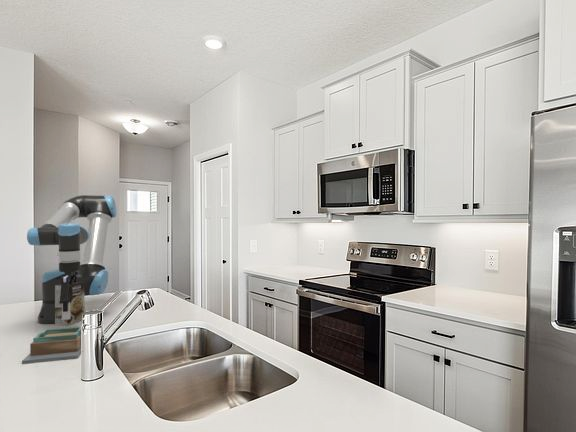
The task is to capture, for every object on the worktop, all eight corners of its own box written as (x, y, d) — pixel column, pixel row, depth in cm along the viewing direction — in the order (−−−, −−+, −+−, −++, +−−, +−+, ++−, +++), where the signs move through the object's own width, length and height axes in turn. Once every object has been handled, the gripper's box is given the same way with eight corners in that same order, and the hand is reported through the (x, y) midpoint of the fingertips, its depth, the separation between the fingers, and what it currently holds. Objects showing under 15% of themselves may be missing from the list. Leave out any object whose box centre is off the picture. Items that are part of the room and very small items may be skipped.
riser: (43, 344, 134) (43, 329, 134) (86, 340, 138) (85, 325, 138) (30, 356, 122) (30, 339, 122) (77, 351, 126) (77, 335, 126)
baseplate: (44, 343, 138) (44, 340, 138) (91, 339, 142) (91, 336, 142) (21, 364, 118) (21, 360, 118) (77, 358, 123) (77, 355, 123)
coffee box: (68, 326, 144) (67, 285, 144) (54, 325, 145) (53, 285, 145) (85, 319, 153) (85, 281, 153) (72, 318, 154) (71, 280, 154)
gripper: (67, 258, 159) (68, 308, 159) (49, 265, 137) (50, 324, 137) (87, 257, 161) (87, 307, 161) (71, 264, 139) (72, 322, 139)
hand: (70, 315), depth 149 cm, fingers closed on coffee box, 10 cm apart
